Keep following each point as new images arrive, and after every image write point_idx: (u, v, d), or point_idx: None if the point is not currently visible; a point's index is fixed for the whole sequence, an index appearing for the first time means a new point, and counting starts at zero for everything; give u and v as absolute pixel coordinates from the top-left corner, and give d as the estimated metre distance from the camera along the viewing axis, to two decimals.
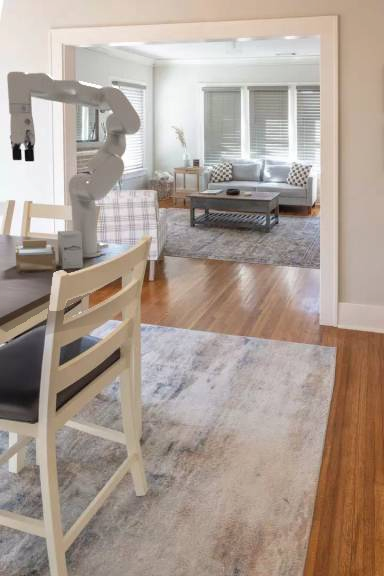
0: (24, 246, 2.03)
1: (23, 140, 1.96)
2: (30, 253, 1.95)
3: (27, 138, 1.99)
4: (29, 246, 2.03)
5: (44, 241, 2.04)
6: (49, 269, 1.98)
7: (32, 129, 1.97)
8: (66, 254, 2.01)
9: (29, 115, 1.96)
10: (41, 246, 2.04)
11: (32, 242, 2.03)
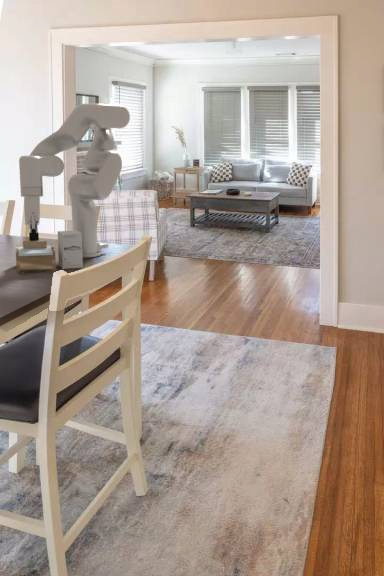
0: (24, 247, 2.01)
1: None
2: (30, 254, 1.94)
3: None
4: (29, 247, 2.02)
5: (44, 242, 2.03)
6: (49, 269, 1.98)
7: None
8: (66, 254, 2.01)
9: None
10: (41, 247, 2.03)
11: (32, 243, 2.02)
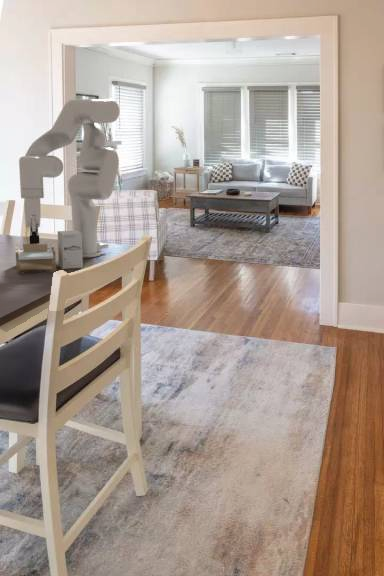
0: (24, 250, 1.96)
1: None
2: (30, 257, 1.89)
3: None
4: (29, 250, 1.96)
5: (45, 245, 1.97)
6: (49, 269, 1.98)
7: None
8: (66, 254, 2.01)
9: None
10: (42, 250, 1.97)
11: (32, 246, 1.96)
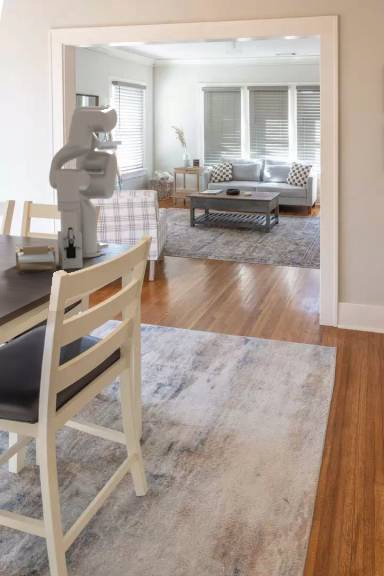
0: (24, 253, 1.92)
1: None
2: (31, 260, 1.84)
3: None
4: (30, 253, 1.92)
5: (45, 247, 1.93)
6: (49, 269, 1.98)
7: None
8: None
9: None
10: (42, 253, 1.93)
11: (33, 248, 1.92)
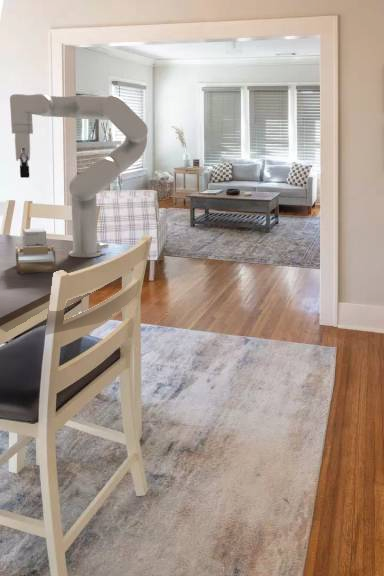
0: (24, 253, 1.92)
1: None
2: (31, 260, 1.84)
3: None
4: (30, 253, 1.92)
5: (45, 247, 1.93)
6: (49, 269, 1.98)
7: None
8: None
9: None
10: (42, 253, 1.93)
11: (33, 248, 1.92)
